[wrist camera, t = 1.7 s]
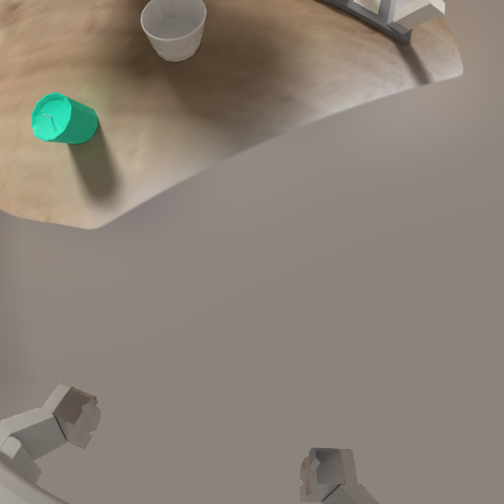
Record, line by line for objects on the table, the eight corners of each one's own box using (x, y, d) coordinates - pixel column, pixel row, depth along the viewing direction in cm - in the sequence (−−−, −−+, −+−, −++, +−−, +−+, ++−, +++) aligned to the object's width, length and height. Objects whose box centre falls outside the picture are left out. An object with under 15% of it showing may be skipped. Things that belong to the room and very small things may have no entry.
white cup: (170, 75, 37) (162, 52, 27) (141, 41, 34) (128, 13, 25) (214, 46, 36) (219, 18, 27) (185, 13, 34) (183, -19, 24)
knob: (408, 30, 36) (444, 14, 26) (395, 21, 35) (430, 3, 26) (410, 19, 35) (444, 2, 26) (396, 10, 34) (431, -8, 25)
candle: (69, 103, 35) (32, 88, 23) (102, 108, 36) (72, 91, 25) (59, 141, 36) (19, 137, 25) (92, 147, 38) (57, 143, 26)
